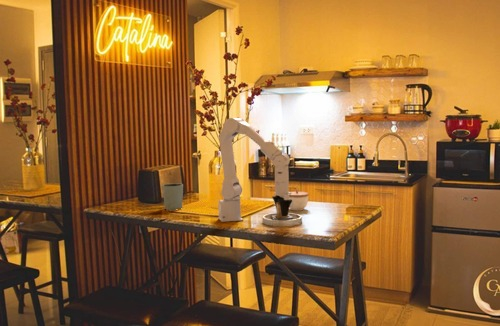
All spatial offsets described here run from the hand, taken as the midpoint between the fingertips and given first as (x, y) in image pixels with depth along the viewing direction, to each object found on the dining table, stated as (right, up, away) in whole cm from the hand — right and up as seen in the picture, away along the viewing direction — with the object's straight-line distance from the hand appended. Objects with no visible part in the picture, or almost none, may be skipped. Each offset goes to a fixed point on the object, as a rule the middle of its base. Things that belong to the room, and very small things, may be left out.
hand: (282, 214), depth 214 cm
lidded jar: (+9, -1, +29) cm, 30 cm away
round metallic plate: (0, -3, 0) cm, 3 cm away
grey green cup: (-51, -1, +36) cm, 62 cm away
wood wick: (0, -3, 0) cm, 3 cm away
